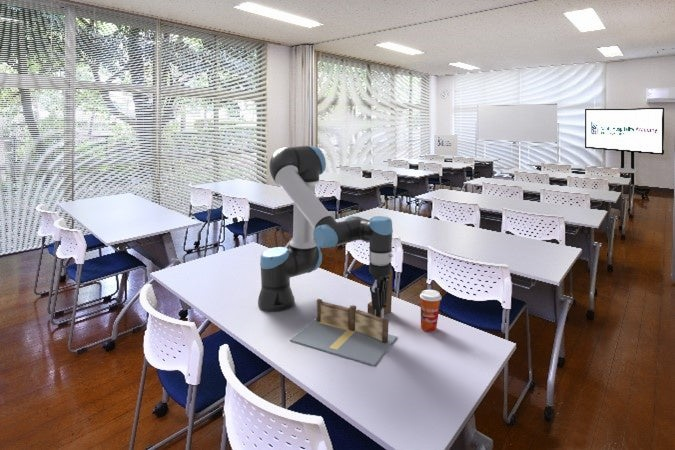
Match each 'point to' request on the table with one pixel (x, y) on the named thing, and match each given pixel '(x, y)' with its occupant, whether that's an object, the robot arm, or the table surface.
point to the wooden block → (389, 298)
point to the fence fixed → (336, 315)
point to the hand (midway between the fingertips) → (379, 324)
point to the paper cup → (429, 309)
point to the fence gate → (371, 325)
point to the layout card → (343, 342)
